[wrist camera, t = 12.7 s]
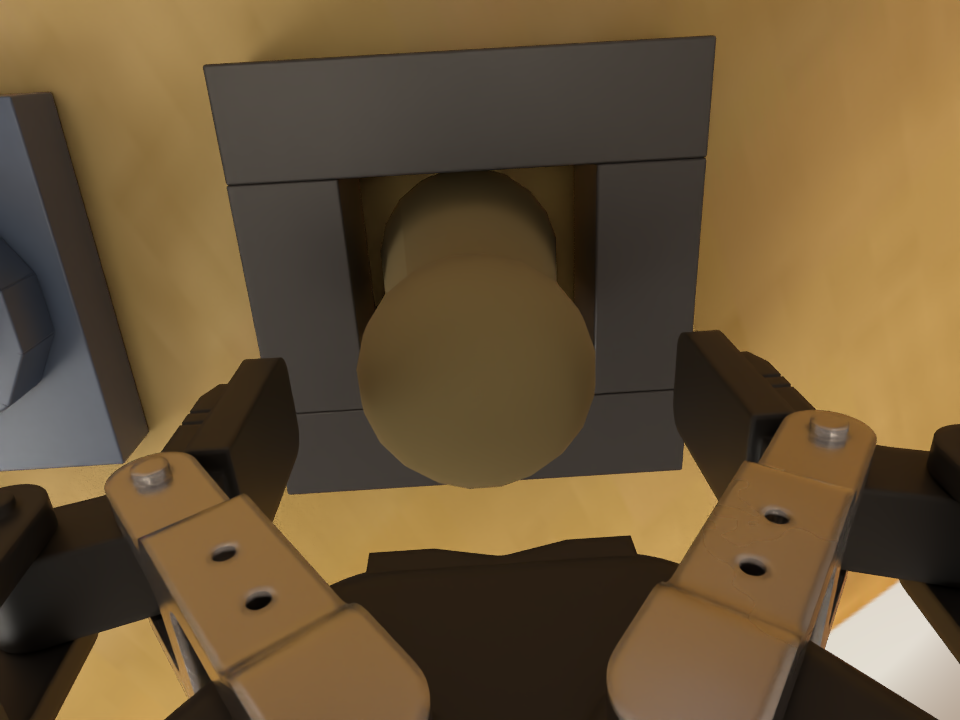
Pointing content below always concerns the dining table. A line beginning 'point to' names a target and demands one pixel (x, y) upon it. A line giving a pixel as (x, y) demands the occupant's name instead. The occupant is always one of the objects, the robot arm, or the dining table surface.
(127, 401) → the power block
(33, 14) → the dining table surface
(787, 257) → the dining table surface
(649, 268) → the socket
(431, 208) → the cork
